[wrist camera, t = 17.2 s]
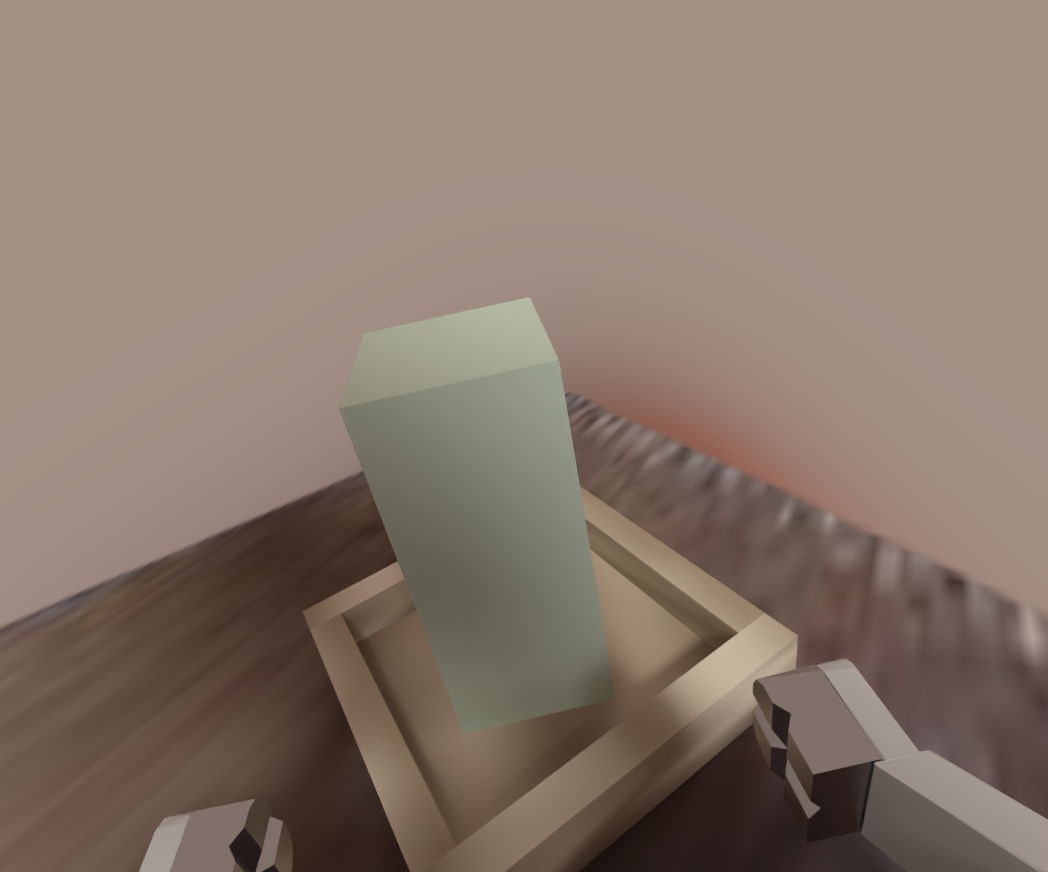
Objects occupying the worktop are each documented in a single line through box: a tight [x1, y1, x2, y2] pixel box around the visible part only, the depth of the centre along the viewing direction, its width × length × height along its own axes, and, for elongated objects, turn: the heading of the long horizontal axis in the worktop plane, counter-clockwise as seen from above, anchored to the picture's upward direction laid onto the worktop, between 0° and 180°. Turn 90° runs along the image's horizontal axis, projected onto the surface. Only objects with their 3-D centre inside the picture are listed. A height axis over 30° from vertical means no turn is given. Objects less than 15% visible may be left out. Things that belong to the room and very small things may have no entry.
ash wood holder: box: [302, 487, 798, 872], centre depth 21 cm, size 12×12×2 cm
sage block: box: [339, 297, 615, 734], centre depth 18 cm, size 5×5×12 cm
